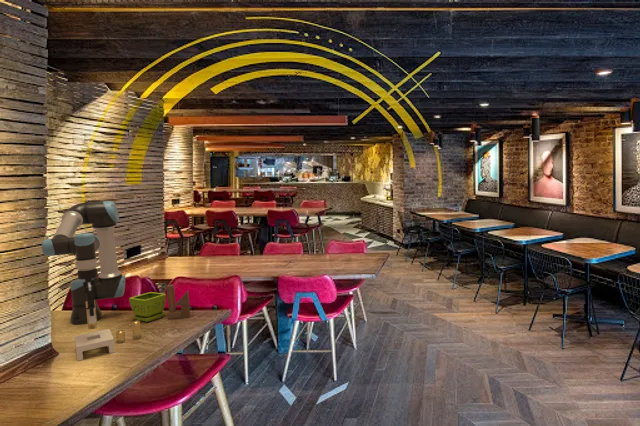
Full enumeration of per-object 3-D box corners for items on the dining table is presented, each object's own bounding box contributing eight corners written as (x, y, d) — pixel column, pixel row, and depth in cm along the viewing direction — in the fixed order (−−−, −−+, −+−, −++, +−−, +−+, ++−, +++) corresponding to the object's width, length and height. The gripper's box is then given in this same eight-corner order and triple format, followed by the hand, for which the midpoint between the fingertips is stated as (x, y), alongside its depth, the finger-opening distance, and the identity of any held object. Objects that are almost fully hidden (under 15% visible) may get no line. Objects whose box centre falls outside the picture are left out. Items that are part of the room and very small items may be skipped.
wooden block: (188, 318, 225) (186, 285, 224) (168, 319, 224) (165, 286, 223) (190, 315, 229) (187, 283, 227) (170, 317, 228) (167, 284, 226)
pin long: (87, 327, 185) (85, 300, 184) (97, 325, 187) (94, 299, 186) (88, 329, 182) (85, 302, 181) (97, 327, 184) (95, 300, 183)
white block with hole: (75, 349, 188) (74, 336, 188) (110, 341, 196) (109, 328, 195) (77, 361, 175) (76, 347, 174) (114, 352, 182) (113, 338, 182)
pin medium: (132, 338, 199) (131, 321, 198) (140, 336, 201) (139, 319, 200) (133, 340, 196) (132, 323, 195) (142, 338, 198) (140, 321, 197)
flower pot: (168, 316, 230) (166, 293, 229) (146, 324, 218) (144, 300, 217) (152, 313, 237) (150, 291, 236) (129, 320, 225) (127, 297, 224)
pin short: (116, 341, 195) (115, 331, 195) (124, 339, 197) (123, 329, 197) (117, 344, 192) (116, 333, 192) (125, 342, 194) (124, 331, 194)
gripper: (76, 267, 188) (81, 318, 189) (78, 273, 174) (83, 328, 175) (95, 265, 192) (99, 315, 193) (98, 270, 178) (103, 324, 179)
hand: (92, 321), depth 184 cm, fingers closed on pin long, 3 cm apart
